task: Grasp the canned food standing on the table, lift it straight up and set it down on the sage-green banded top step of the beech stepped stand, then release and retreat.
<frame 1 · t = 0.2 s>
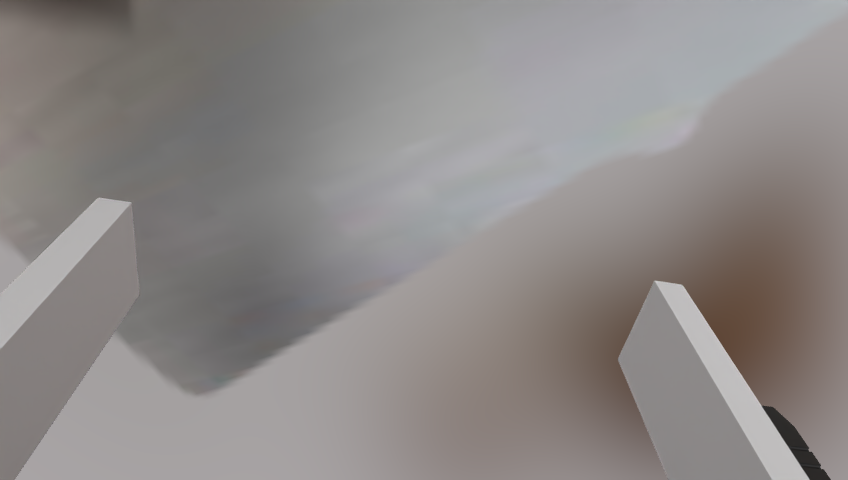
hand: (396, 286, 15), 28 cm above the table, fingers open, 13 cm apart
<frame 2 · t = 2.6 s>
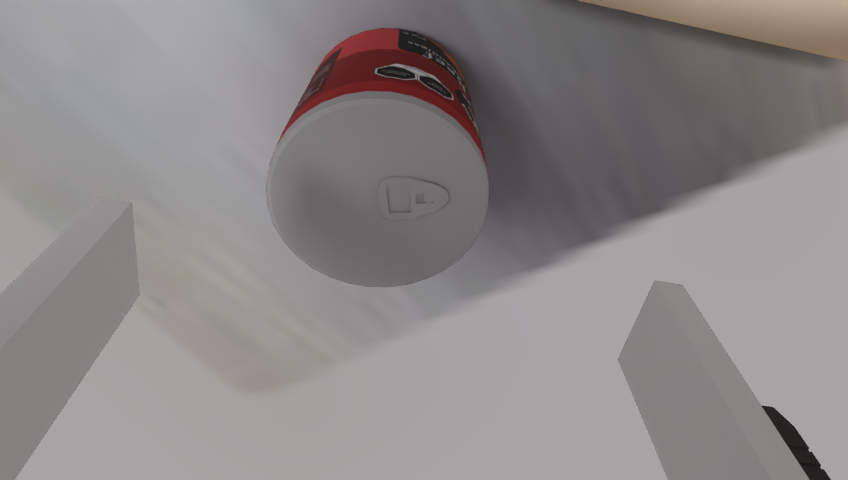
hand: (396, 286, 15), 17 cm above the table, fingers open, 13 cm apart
canned food: (390, 100, 30), on the table
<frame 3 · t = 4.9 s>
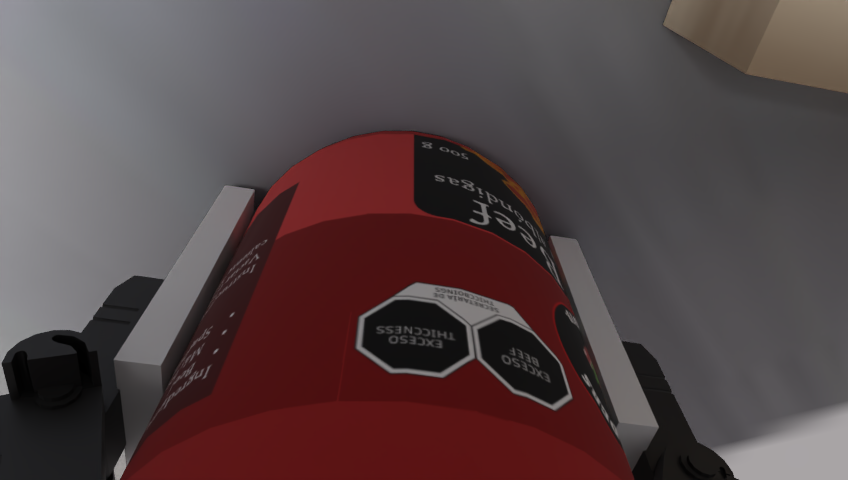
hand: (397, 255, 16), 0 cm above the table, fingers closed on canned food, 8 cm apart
canned food: (398, 246, 17), on the table, touching gripper
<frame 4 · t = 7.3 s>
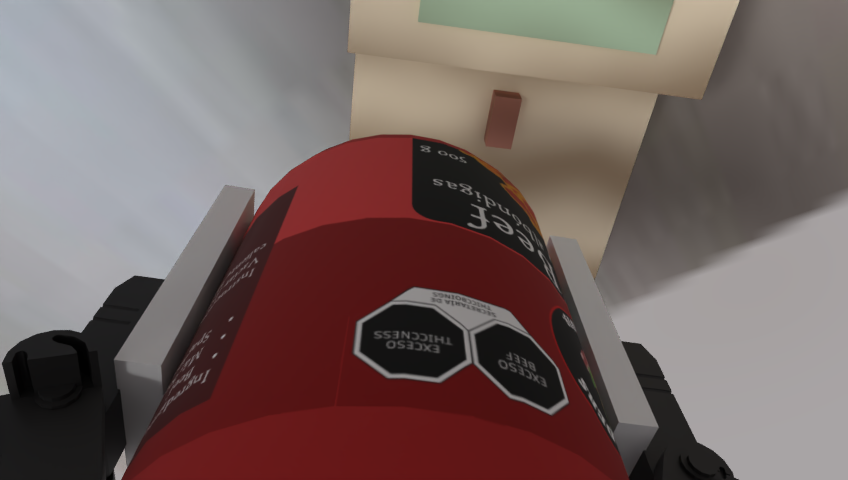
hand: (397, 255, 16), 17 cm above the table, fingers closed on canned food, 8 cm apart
canned food: (397, 248, 17), point 17 cm above the table, touching gripper
stand: (503, 32, 30), on the table
when the fingers open (10 cm above the table, at t = 9.6 s): canned food drops 1 cm, resting on stand.
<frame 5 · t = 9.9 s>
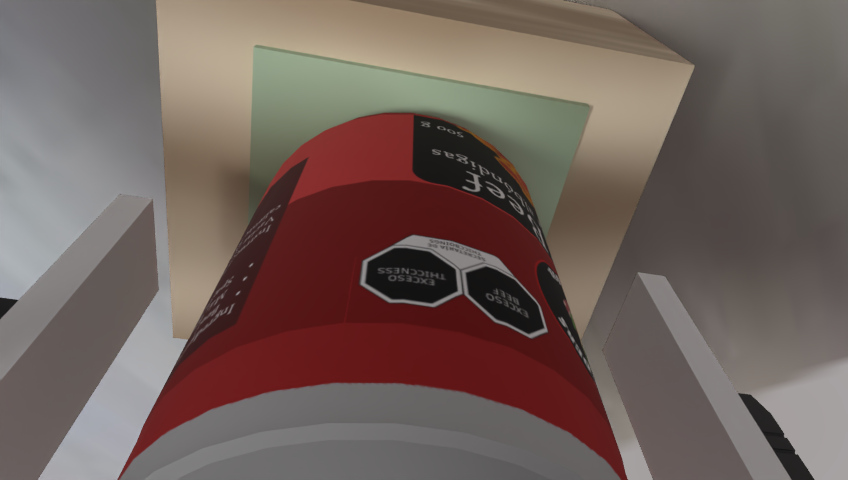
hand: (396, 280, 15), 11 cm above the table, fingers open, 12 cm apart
canned food: (399, 221, 18), point 8 cm above the table, touching stand
stand: (384, 245, 28), on the table
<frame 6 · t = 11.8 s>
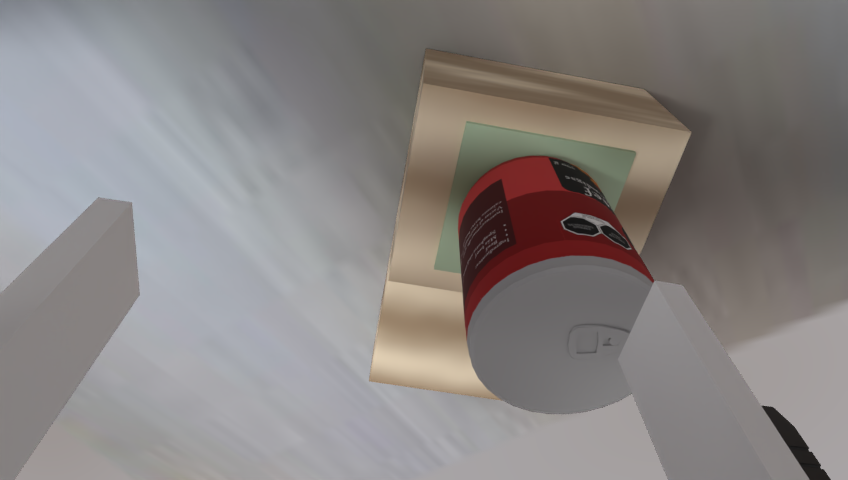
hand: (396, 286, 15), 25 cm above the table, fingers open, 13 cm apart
canned food: (528, 213, 33), point 8 cm above the table, touching stand
stand: (491, 234, 43), on the table
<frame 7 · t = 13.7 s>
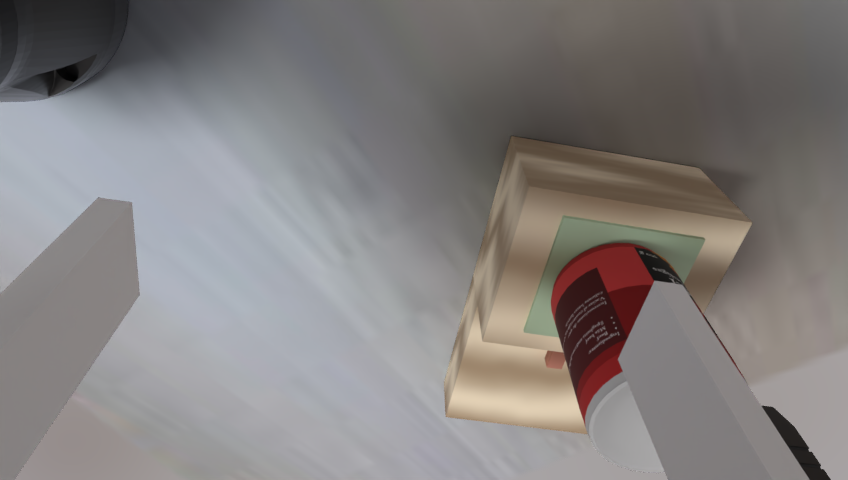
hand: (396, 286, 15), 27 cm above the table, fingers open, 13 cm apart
canned food: (609, 287, 38), point 8 cm above the table, touching stand
stand: (557, 287, 48), on the table
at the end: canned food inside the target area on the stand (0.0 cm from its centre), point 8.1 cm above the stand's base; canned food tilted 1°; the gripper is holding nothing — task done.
